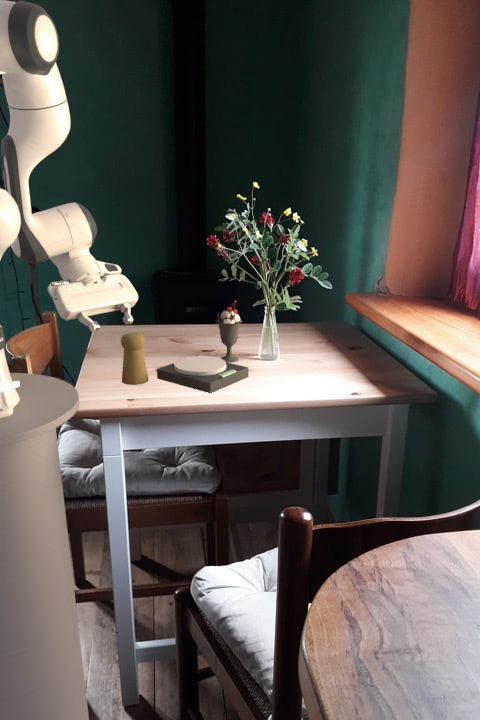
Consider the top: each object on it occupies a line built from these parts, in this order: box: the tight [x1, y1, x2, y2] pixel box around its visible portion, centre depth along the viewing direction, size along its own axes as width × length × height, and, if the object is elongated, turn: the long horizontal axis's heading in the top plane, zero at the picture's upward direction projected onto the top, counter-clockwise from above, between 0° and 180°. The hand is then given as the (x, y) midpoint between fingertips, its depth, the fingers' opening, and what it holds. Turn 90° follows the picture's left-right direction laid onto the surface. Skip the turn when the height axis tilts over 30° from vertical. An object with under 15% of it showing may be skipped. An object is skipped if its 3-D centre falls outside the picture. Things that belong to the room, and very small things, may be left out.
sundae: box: [215, 300, 243, 363], centre depth 155 cm, size 7×7×15 cm
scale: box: [156, 354, 250, 394], centre depth 143 cm, size 14×16×3 cm
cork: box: [120, 332, 150, 386], centre depth 139 cm, size 6×6×11 cm
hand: (113, 326), depth 141 cm, fingers open, 8 cm apart
